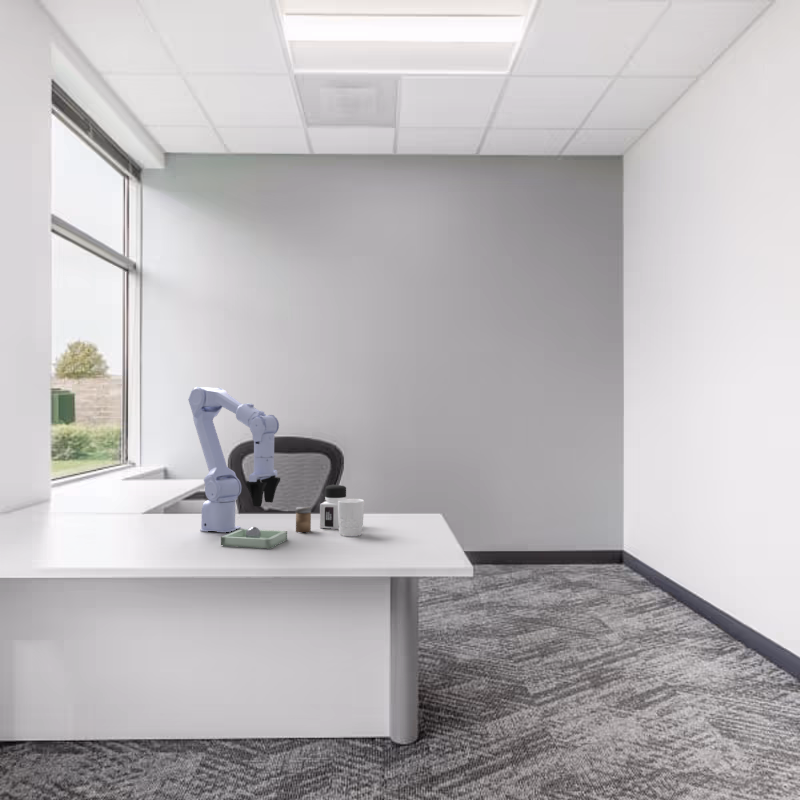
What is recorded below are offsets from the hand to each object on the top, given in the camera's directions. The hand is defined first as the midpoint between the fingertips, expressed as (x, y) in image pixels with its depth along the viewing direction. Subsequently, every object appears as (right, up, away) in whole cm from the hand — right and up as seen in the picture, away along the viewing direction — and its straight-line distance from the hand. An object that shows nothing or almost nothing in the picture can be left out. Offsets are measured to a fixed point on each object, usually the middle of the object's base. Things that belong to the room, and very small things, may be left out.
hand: (263, 504), depth 184 cm
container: (+19, -10, +16) cm, 27 cm away
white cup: (+25, -10, +4) cm, 27 cm away
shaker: (+10, -10, +8) cm, 16 cm away
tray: (0, -9, -9) cm, 13 cm away
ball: (0, -8, -9) cm, 12 cm away
